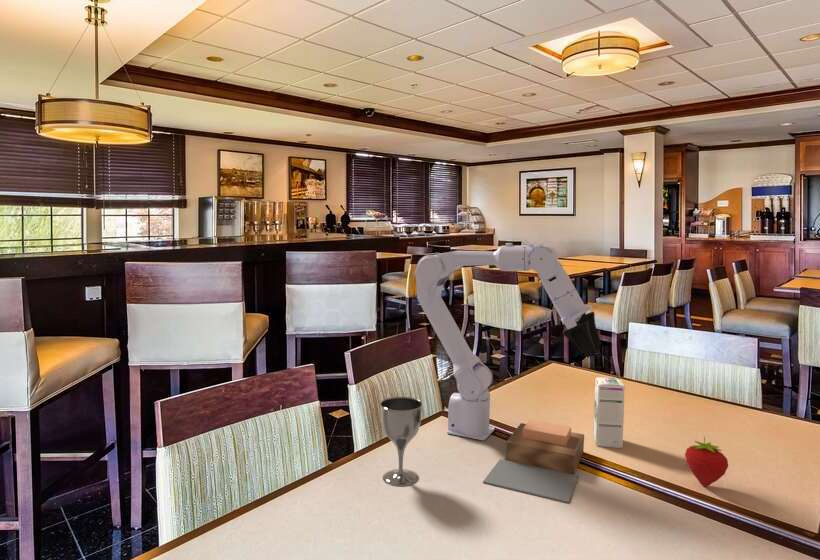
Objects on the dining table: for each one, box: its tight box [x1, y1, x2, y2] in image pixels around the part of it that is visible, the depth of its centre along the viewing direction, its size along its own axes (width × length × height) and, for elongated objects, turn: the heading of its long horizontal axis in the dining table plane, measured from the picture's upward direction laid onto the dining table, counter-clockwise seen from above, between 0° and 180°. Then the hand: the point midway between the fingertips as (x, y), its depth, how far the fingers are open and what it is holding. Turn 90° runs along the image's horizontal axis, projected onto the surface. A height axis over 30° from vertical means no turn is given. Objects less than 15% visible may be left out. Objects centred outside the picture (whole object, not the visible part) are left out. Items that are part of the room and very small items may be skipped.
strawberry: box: [684, 436, 729, 487], centre depth 101 cm, size 6×8×10 cm
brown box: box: [504, 422, 585, 475], centre depth 113 cm, size 14×12×4 cm
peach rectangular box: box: [523, 418, 572, 446], centre depth 114 cm, size 9×6×2 cm, turn 63°
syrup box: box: [593, 376, 626, 449], centre depth 120 cm, size 6×6×14 cm
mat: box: [482, 458, 579, 504], centre depth 103 cm, size 16×11×1 cm
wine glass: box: [380, 396, 423, 487], centre depth 103 cm, size 8×8×15 cm
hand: (594, 350), depth 114 cm, fingers open, 7 cm apart
